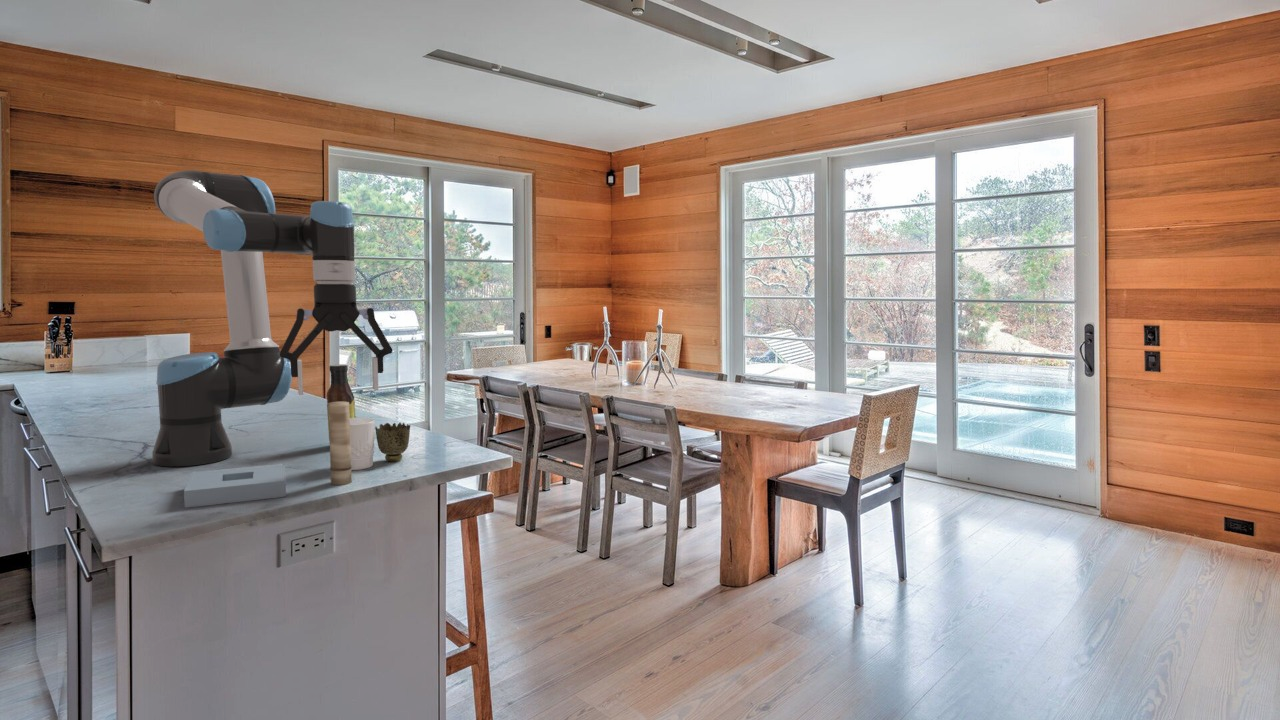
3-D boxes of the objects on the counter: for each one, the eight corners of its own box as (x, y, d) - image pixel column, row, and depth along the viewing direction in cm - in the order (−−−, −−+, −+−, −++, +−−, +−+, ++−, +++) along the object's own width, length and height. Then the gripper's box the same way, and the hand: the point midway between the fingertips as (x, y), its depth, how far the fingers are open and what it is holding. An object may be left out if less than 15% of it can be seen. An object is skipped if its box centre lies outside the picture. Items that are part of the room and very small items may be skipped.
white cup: (352, 473, 151) (350, 426, 150) (329, 467, 155) (327, 421, 154) (383, 465, 157) (382, 420, 156) (360, 460, 161) (359, 416, 160)
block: (192, 487, 139) (191, 472, 139) (284, 478, 146) (284, 463, 146) (184, 507, 127) (183, 491, 126) (286, 496, 134) (285, 480, 134)
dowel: (330, 480, 144) (327, 402, 143) (350, 478, 146) (348, 400, 145) (331, 485, 141) (328, 405, 139) (352, 483, 143) (350, 403, 141)
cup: (400, 465, 157) (399, 429, 156) (369, 463, 159) (368, 427, 158) (417, 457, 164) (416, 423, 164) (387, 455, 166) (386, 421, 165)
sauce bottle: (362, 445, 176) (359, 364, 174) (339, 450, 171) (336, 367, 169) (345, 442, 179) (343, 362, 177) (322, 446, 174) (319, 365, 172)
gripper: (261, 282, 130) (267, 398, 133) (404, 283, 142) (408, 390, 144) (262, 282, 137) (267, 393, 139) (398, 283, 148) (402, 385, 150)
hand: (339, 392), depth 142 cm, fingers open, 13 cm apart
